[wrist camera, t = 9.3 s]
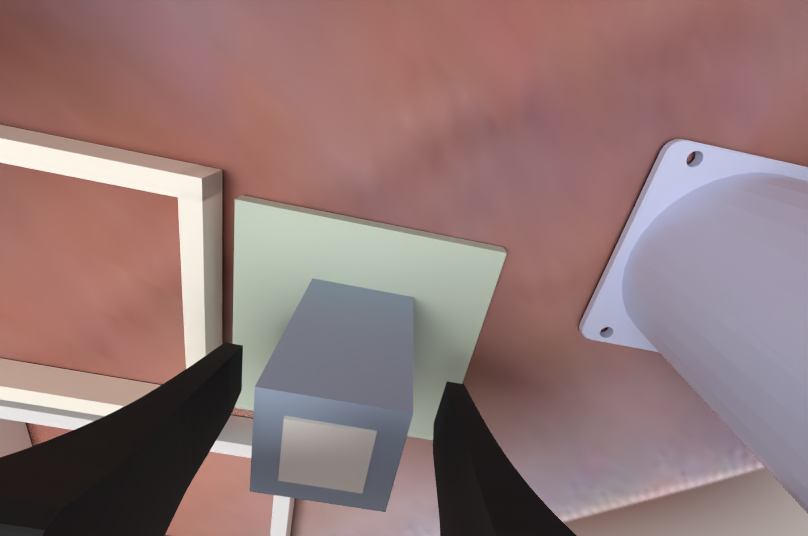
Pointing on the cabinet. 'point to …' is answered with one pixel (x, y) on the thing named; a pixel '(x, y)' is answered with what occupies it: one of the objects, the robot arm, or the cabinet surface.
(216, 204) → the cream rectangular frame
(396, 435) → the slate block
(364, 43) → the cabinet surface
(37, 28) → the cabinet surface
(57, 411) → the grey rectangular frame
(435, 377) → the green mat
